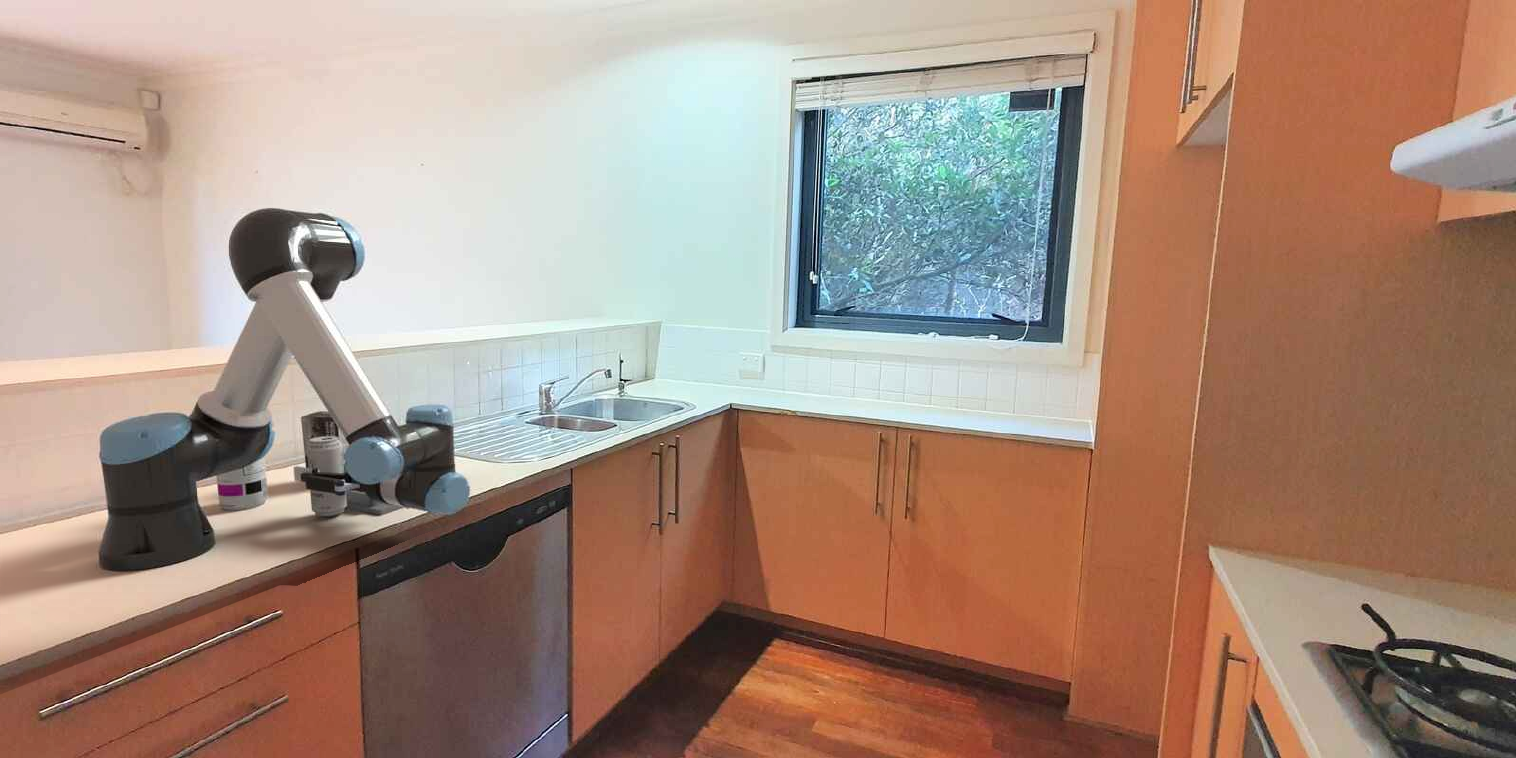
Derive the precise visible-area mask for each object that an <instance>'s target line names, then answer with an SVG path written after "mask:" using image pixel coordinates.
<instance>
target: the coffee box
mask: <svg viewBox="0 0 1516 758" xmlns="http://www.w3.org/2000/svg"><path fill="white" fill-rule="evenodd" d="M300 421H301V430H302V431H301V433H302V441H303V453H304V462H305V468H308V457H307V448H308V446H309V444H310V439H312V438H316V437H323V436H337V437H338V438H339V439H338V440H339V441H340V442H341V444H342V445H343V457H344V454H345V451H346V449H347V448H348V446H349V444H348V442H347V441H346V439H345V437H344V436H343V434H342V433H341V431H340V429H339V428H338V426H337V425H336V423H335V421H334V420H333V418H332V417H331V415H330V413H329V412H328V410H327V411H322V410H320V411H317V412H316V411H315V412H312V413H309V414H307V415H302V416H301V417H300ZM344 461H345V460H344Z"/></svg>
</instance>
